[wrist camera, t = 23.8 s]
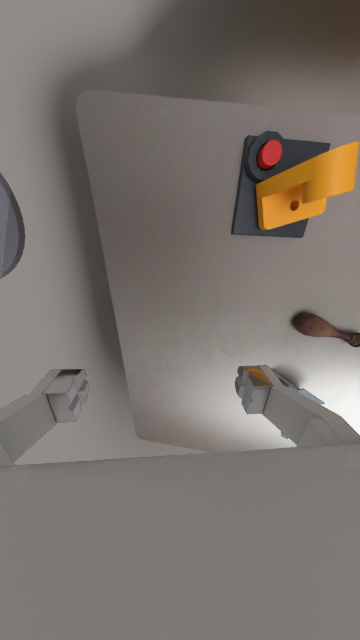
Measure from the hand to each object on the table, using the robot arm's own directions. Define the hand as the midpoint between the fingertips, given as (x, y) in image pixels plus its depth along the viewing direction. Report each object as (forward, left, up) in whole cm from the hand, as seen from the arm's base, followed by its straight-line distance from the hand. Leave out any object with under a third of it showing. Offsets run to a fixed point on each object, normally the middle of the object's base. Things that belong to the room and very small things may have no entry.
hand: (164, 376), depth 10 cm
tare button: (+7, +24, -28) cm, 37 cm away
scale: (+12, +22, -31) cm, 39 cm away
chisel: (+53, +7, -31) cm, 62 cm away
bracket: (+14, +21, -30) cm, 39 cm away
